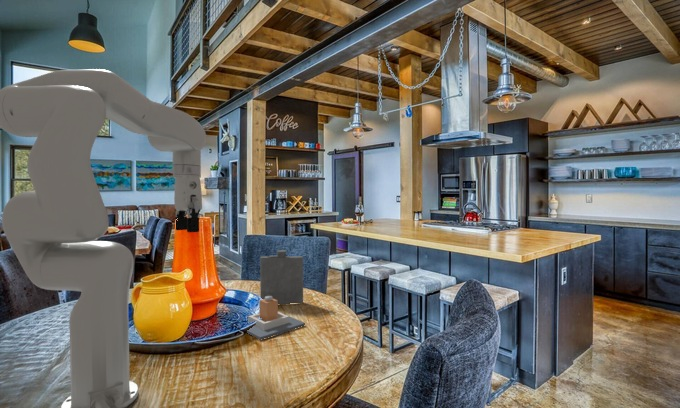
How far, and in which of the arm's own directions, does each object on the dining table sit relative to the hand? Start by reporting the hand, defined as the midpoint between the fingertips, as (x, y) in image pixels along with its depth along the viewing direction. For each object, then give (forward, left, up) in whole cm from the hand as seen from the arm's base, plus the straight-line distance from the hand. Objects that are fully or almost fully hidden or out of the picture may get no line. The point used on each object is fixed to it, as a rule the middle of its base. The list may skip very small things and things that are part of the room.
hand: (186, 230), depth 103 cm
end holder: (-11, -20, -30) cm, 38 cm away
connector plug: (-11, -20, -29) cm, 37 cm away
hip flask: (+5, -36, -30) cm, 48 cm away
